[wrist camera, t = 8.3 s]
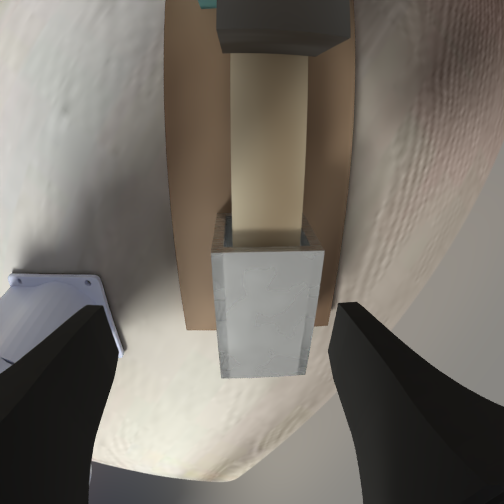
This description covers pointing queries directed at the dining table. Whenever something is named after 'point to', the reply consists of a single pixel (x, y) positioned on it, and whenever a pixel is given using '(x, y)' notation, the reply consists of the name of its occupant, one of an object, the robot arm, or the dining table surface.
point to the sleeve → (264, 303)
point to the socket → (207, 4)
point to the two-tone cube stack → (272, 108)
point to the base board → (219, 151)
